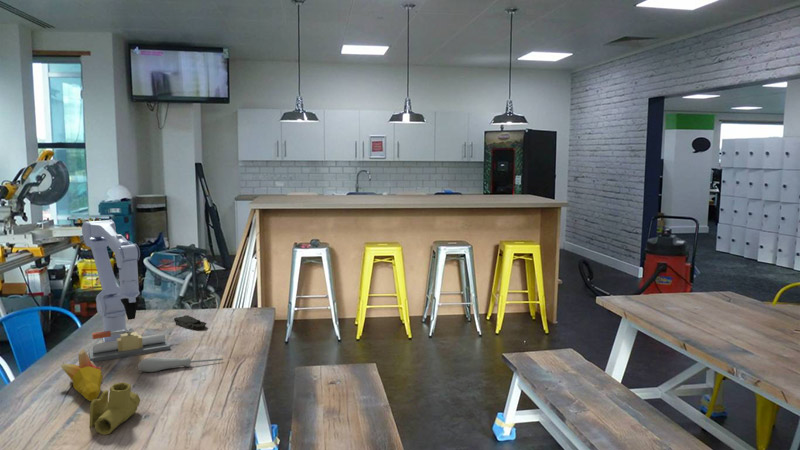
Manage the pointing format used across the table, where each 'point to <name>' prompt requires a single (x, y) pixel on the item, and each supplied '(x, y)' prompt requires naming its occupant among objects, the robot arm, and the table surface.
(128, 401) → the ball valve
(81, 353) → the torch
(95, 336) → the valve lever
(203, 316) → the table surface
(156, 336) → the valve stand
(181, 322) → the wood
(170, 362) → the screwdriver
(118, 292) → the robot arm
